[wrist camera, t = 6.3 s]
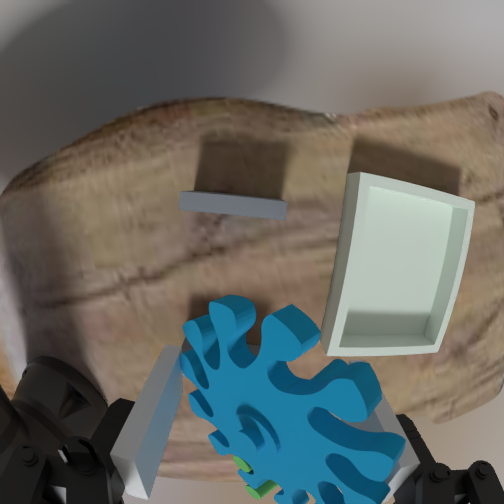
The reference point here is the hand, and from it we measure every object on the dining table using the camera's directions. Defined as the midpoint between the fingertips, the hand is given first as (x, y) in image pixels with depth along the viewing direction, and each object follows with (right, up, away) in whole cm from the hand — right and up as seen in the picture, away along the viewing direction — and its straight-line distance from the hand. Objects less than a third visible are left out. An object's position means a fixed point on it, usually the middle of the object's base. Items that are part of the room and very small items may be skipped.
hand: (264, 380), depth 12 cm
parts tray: (+14, +4, +15) cm, 21 cm away
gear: (0, 0, 0) cm, 0 cm away
